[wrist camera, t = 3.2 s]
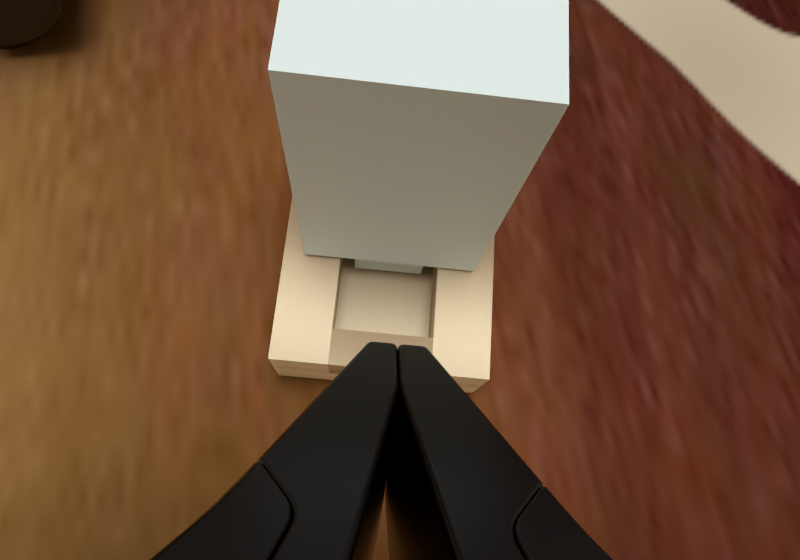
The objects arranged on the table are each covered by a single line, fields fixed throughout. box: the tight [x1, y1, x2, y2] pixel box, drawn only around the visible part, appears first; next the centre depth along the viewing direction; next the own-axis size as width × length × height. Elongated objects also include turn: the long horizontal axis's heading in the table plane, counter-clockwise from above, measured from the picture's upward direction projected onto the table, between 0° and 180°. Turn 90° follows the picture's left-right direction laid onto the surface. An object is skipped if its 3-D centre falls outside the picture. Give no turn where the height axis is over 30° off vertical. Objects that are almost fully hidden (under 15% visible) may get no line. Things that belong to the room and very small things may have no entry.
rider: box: [268, 0, 569, 274], centre depth 15 cm, size 4×5×10 cm
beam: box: [268, 195, 495, 393], centre depth 21 cm, size 20×6×3 cm, turn 176°
